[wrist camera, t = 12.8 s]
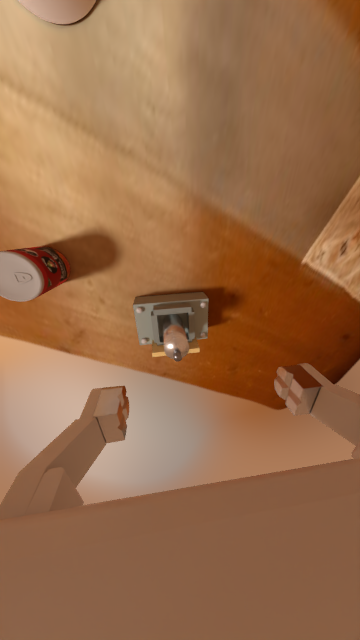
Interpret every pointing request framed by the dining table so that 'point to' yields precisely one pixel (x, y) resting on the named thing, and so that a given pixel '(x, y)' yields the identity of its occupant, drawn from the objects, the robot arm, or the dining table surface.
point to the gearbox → (158, 307)
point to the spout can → (175, 337)
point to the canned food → (31, 272)
